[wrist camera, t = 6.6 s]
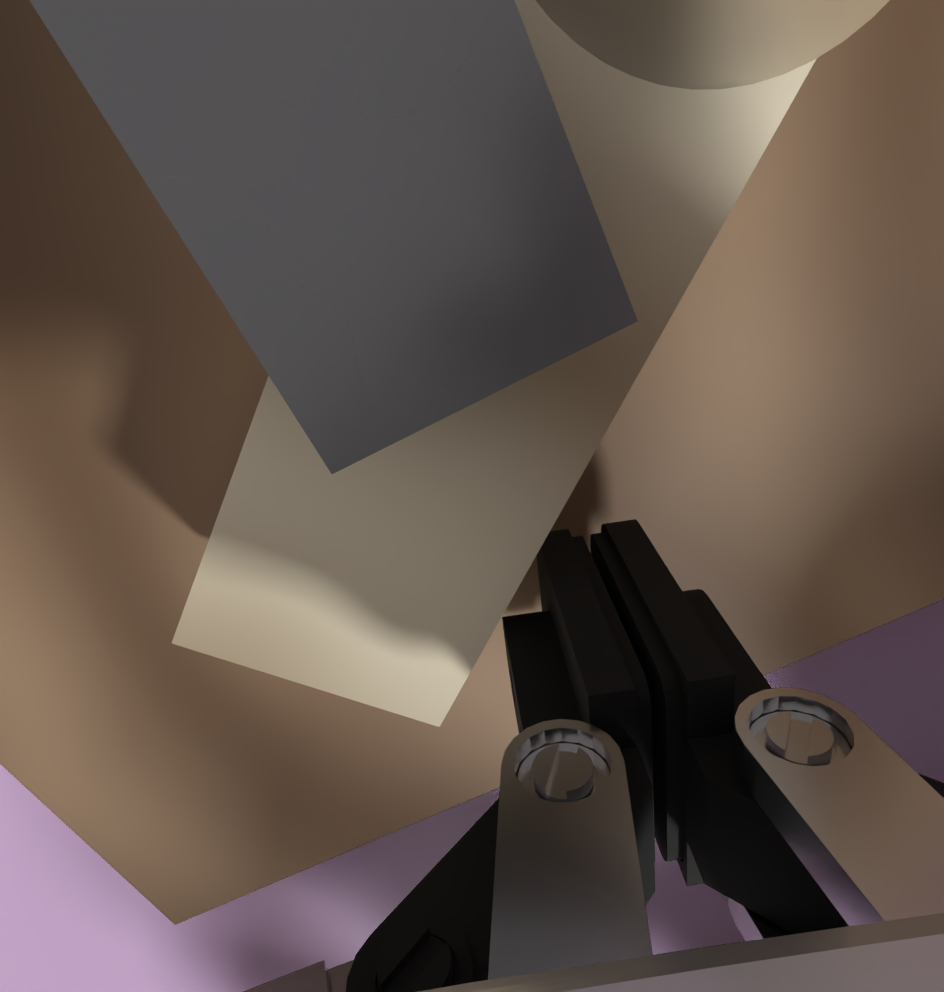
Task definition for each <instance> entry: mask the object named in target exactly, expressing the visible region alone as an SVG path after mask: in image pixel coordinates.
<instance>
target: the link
mask: <svg viewBox="0 0 944 992" xmlns="http://www.w3.org/2000/svg"><path fill="white" fill-rule="evenodd" d="M889 1H890V0H515V3H516V6H517V8H518V11H519V13H520V16H521V19H522V21H523V24H524V26H525V29H526V32H527V34H528V37H529V39H530V42H531V45H532V47H533V50H534V52H535V55H536V58H537V60H538V63H539V65H540V68H541V71H542V73H543V76H544V78H545V81H546V84H547V86H548V89H549V91H550V94H551V97H552V99H553V102H554V104H555V107H556V110H557V112H558V115H559V117H560V120H561V123H562V125H563V128H564V130H565V133H566V136H567V138H568V141H569V143H570V146H571V149H572V151H573V154H574V156H575V159H576V162H577V164H578V167H579V169H580V172H581V175H582V177H583V180H584V182H585V185H586V188H587V190H588V193H589V195H590V198H591V201H592V203H593V206H594V208H595V211H596V214H597V216H598V219H599V221H600V224H601V227H602V229H603V232H604V234H605V237H606V240H607V242H608V245H609V247H610V250H611V253H612V255H613V258H614V260H615V263H616V266H617V268H618V271H619V273H620V276H621V279H622V281H623V284H624V286H625V289H626V292H627V294H628V297H629V299H630V302H631V305H632V307H633V310H634V312H635V315H636V318H637V320H638V321H637V322H635V323H633V324H631V325H629V326H627V327H625V328H623V329H621V330H619V331H617V332H615V333H613V334H611V335H609V336H607V337H605V338H603V339H601V340H599V341H597V342H595V343H593V344H591V345H589V346H588V347H586V348H584V349H582V350H580V351H578V352H576V353H574V354H572V355H570V356H568V357H566V358H564V359H562V360H560V361H558V362H556V363H554V364H552V365H550V366H548V367H546V368H544V369H542V370H540V371H538V372H536V373H534V374H532V375H530V376H528V377H526V378H524V379H522V380H520V381H518V382H516V383H514V384H512V385H510V386H508V387H506V388H504V389H502V390H500V391H498V392H496V393H494V394H492V395H490V396H488V397H486V398H484V399H482V400H480V401H478V402H476V403H474V404H472V405H470V406H468V407H466V408H464V409H462V410H460V411H458V412H456V413H454V414H452V415H450V416H448V417H446V418H444V419H442V420H440V421H438V422H436V423H434V424H432V425H430V426H428V427H426V428H424V429H422V430H420V431H418V432H416V433H414V434H412V435H410V436H408V437H406V438H404V439H402V440H400V441H398V442H396V443H394V444H392V445H390V446H388V447H386V448H384V449H382V450H380V451H378V452H376V453H374V454H372V455H370V456H368V457H366V458H364V459H362V460H360V461H358V462H356V463H354V464H352V465H350V466H348V467H346V468H344V469H342V470H340V471H338V472H336V473H334V474H331V472H330V471H329V469H328V468H327V466H326V465H325V463H324V461H323V460H322V458H321V457H320V455H319V454H318V452H317V450H316V449H315V447H314V446H313V444H312V443H311V441H310V439H309V438H308V436H307V435H306V433H305V432H304V430H303V429H302V427H301V425H300V424H299V422H298V421H297V419H296V418H295V416H294V414H293V413H292V411H291V410H290V408H289V407H288V405H287V403H286V402H285V400H284V399H283V397H282V396H281V394H280V392H279V391H278V389H277V388H276V386H275V385H274V383H273V382H272V380H271V378H270V377H269V376H268V378H267V381H266V384H265V387H264V389H263V392H262V395H261V398H260V400H259V403H258V406H257V409H256V411H255V414H254V417H253V420H252V422H251V425H250V428H249V431H248V434H247V436H246V439H245V442H244V445H243V447H242V450H241V453H240V456H239V458H238V461H237V464H236V467H235V469H234V472H233V475H232V478H231V480H230V483H229V486H228V489H227V491H226V494H225V497H224V500H223V502H222V505H221V508H220V511H219V513H218V516H217V519H216V522H215V525H214V527H213V530H212V533H211V536H210V538H209V541H208V544H207V547H206V549H205V552H204V555H203V558H202V560H201V563H200V566H199V569H198V571H197V574H196V577H195V580H194V582H193V585H192V588H191V591H190V593H189V596H188V599H187V602H186V604H185V607H184V610H183V613H182V616H181V618H180V621H179V624H178V627H177V629H176V632H175V635H174V638H173V640H172V644H175V645H178V646H182V647H185V648H188V649H191V650H194V651H198V652H201V653H204V654H207V655H210V656H214V657H217V658H220V659H223V660H226V661H230V662H233V663H236V664H239V665H242V666H246V667H249V668H252V669H255V670H258V671H262V672H265V673H268V674H271V675H274V676H278V677H281V678H284V679H287V680H290V681H294V682H297V683H300V684H303V685H306V686H310V687H313V688H316V689H319V690H322V691H326V692H329V693H332V694H335V695H338V696H342V697H345V698H348V699H351V700H354V701H358V702H361V703H364V704H367V705H370V706H373V707H377V708H380V709H383V710H386V711H389V712H393V713H396V714H399V715H402V716H405V717H409V718H412V719H415V720H418V721H421V722H425V723H428V724H431V725H434V726H437V727H440V725H441V724H442V722H443V720H444V718H445V716H446V715H447V713H448V711H449V709H450V708H451V706H452V704H453V702H454V701H455V699H456V697H457V695H458V693H459V692H460V690H461V688H462V686H463V685H464V683H465V681H466V679H467V677H468V676H469V674H470V672H471V670H472V669H473V667H474V665H475V663H476V662H477V660H478V658H479V656H480V654H481V653H482V651H483V649H484V647H485V646H486V644H487V642H488V640H489V638H490V637H491V635H492V633H493V631H494V630H495V628H496V626H497V624H498V623H499V621H500V619H501V617H502V615H503V614H504V612H505V610H506V608H507V607H508V605H509V603H510V601H511V599H512V598H513V596H514V594H515V592H516V591H517V589H518V587H519V585H520V584H521V582H522V580H523V578H524V576H525V575H526V573H527V571H528V569H529V568H530V566H531V564H532V562H533V560H534V559H535V557H536V555H537V553H538V552H539V550H540V548H541V546H542V545H543V543H544V541H545V539H546V537H547V536H548V534H549V532H550V530H551V529H552V527H553V525H554V523H555V521H556V520H557V518H558V516H559V514H560V513H561V511H562V509H563V507H564V506H565V504H566V502H567V500H568V498H569V497H570V495H571V493H572V491H573V490H574V488H575V486H576V484H577V482H578V481H579V479H580V477H581V475H582V474H583V472H584V470H585V468H586V467H587V465H588V463H589V461H590V459H591V458H592V456H593V454H594V452H595V451H596V449H597V447H598V445H599V444H600V442H601V440H602V438H603V436H604V435H605V433H606V431H607V429H608V428H609V426H610V424H611V422H612V420H613V419H614V417H615V415H616V413H617V412H618V410H619V408H620V406H621V405H622V403H623V401H624V399H625V397H626V396H627V394H628V392H629V390H630V389H631V387H632V385H633V383H634V381H635V380H636V378H637V376H638V374H639V373H640V371H641V369H642V367H643V366H644V364H645V362H646V360H647V358H648V357H649V355H650V353H651V351H652V350H653V348H654V346H655V344H656V342H657V341H658V339H659V337H660V335H661V334H662V332H663V330H664V328H665V327H666V325H667V323H668V321H669V319H670V318H671V316H672V314H673V312H674V311H675V309H676V307H677V305H678V303H679V302H680V300H681V298H682V296H683V295H684V293H685V291H686V289H687V288H688V286H689V284H690V282H691V280H692V279H693V277H694V275H695V273H696V272H697V270H698V268H699V266H700V264H701V263H702V261H703V259H704V257H705V256H706V254H707V252H708V250H709V249H710V247H711V245H712V243H713V241H714V240H715V238H716V236H717V234H718V233H719V231H720V229H721V227H722V225H723V224H724V222H725V220H726V218H727V217H728V215H729V213H730V211H731V210H732V208H733V206H734V204H735V202H736V201H737V199H738V197H739V195H740V194H741V192H742V190H743V188H744V186H745V185H746V183H747V181H748V179H749V178H750V176H751V174H752V172H753V171H754V169H755V167H756V165H757V163H758V162H759V160H760V158H761V156H762V155H763V153H764V151H765V149H766V147H767V146H768V144H769V142H770V140H771V139H772V137H773V135H774V133H775V132H776V130H777V128H778V126H779V124H780V123H781V121H782V119H783V117H784V116H785V114H786V112H787V110H788V109H789V107H790V105H791V103H792V101H793V100H794V98H795V96H796V94H797V93H798V91H799V89H800V87H801V85H802V84H803V82H804V80H805V78H806V77H807V75H808V73H809V71H810V70H811V68H812V66H813V64H814V62H815V61H816V59H817V58H818V57H820V56H821V55H823V54H824V53H826V52H828V51H829V50H831V49H832V48H834V47H835V46H837V45H839V44H840V43H842V42H843V41H845V40H846V39H847V38H848V37H850V36H851V35H852V34H853V33H854V32H856V31H857V30H858V29H859V28H861V27H862V26H863V25H864V24H865V23H867V22H868V21H869V20H870V19H872V18H873V17H874V16H875V15H876V14H877V13H878V12H879V11H880V10H881V9H882V8H883V7H884V6H885V5H886V4H887V3H888V2H889Z"/></svg>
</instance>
